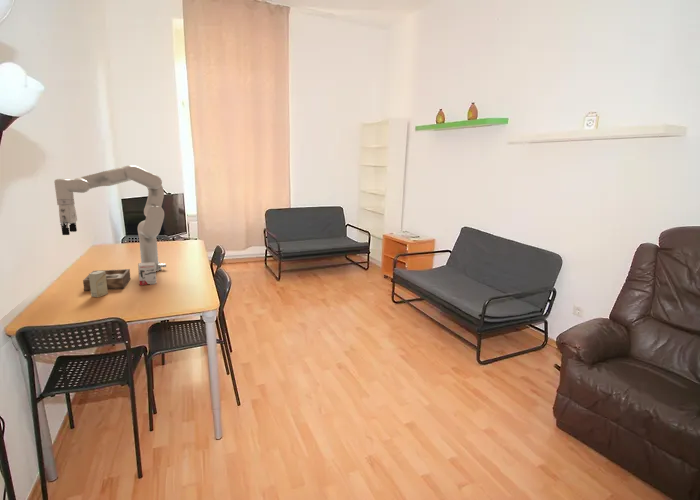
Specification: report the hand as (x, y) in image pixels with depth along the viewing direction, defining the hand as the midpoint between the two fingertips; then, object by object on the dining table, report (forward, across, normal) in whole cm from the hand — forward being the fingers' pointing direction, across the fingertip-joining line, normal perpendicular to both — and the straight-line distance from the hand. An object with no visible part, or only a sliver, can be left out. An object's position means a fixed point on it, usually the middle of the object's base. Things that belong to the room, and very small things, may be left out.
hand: (69, 233), depth 208 cm
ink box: (+28, -12, -39) cm, 50 cm away
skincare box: (+28, -28, -20) cm, 44 cm away
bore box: (+27, -11, -19) cm, 35 cm away
